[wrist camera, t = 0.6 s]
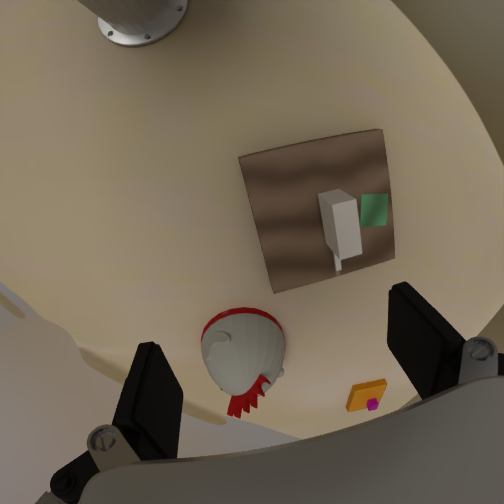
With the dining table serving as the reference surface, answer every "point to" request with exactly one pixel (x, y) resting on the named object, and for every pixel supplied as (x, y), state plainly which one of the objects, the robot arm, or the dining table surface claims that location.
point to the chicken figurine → (243, 355)
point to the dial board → (308, 208)
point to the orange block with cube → (366, 395)
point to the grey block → (340, 224)
